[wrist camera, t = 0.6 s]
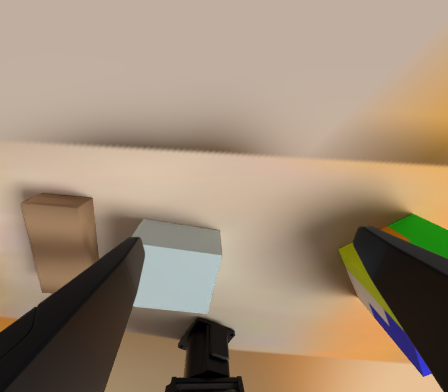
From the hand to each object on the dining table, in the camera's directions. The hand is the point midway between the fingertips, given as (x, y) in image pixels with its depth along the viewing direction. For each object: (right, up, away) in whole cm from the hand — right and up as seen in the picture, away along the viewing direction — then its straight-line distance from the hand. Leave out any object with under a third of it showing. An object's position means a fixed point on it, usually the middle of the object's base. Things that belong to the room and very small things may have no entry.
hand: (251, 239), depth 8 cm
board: (-19, -3, +16) cm, 24 cm away
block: (-7, -5, +17) cm, 19 cm away
